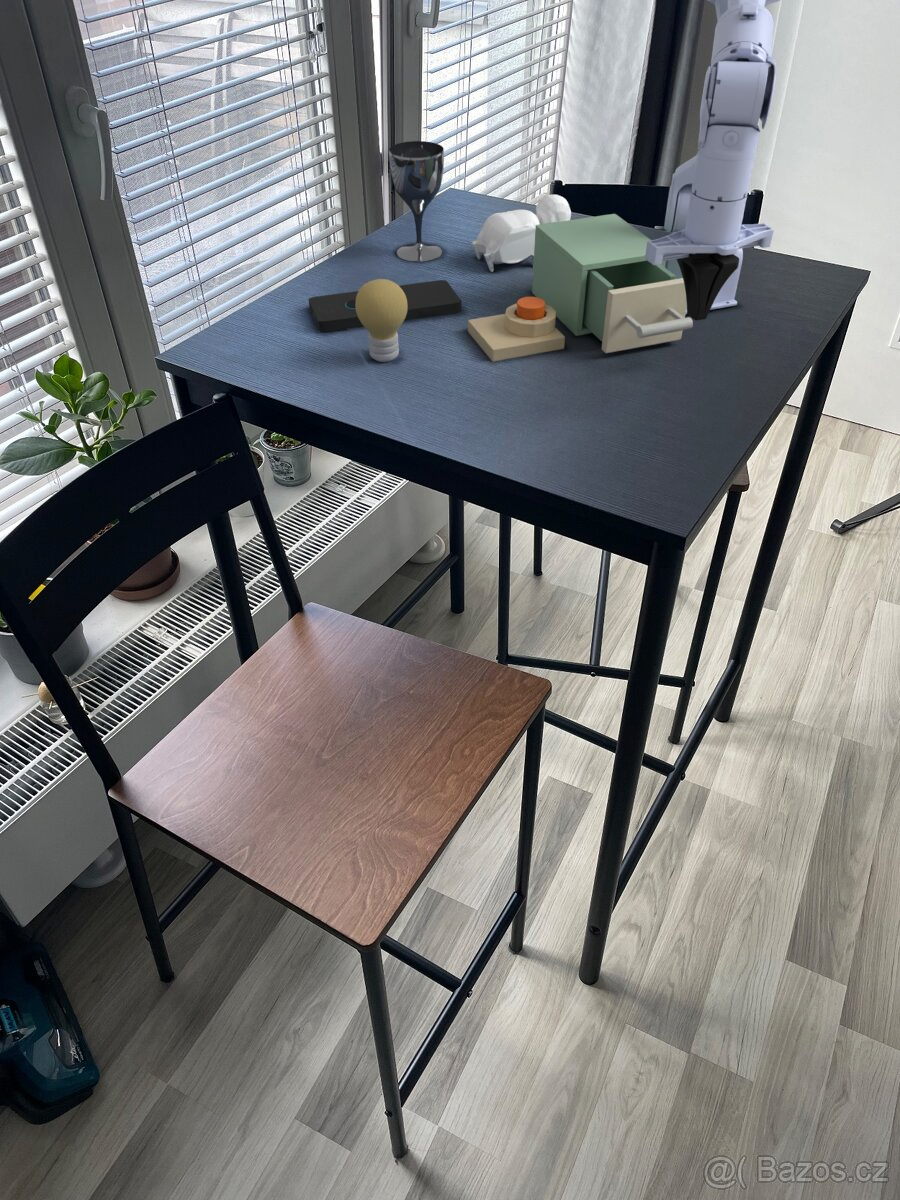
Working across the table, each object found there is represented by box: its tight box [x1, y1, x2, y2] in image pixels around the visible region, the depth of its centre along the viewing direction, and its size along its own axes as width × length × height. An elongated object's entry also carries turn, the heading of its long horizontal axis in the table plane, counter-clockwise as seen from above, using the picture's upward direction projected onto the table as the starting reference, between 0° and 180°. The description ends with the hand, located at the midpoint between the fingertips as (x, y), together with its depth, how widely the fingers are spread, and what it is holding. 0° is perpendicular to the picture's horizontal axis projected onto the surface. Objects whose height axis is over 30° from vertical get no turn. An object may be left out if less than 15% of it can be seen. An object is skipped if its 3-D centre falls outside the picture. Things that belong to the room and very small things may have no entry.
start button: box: [516, 296, 545, 320], centre depth 118 cm, size 4×4×2 cm
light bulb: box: [355, 278, 408, 363], centre depth 114 cm, size 6×6×10 cm
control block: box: [467, 303, 566, 362], centre depth 120 cm, size 10×9×4 cm
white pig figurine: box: [471, 194, 572, 273], centre depth 138 cm, size 9×8×15 cm
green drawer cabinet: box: [531, 213, 667, 337], centre depth 125 cm, size 15×12×10 cm
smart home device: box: [308, 279, 462, 333], centre depth 127 cm, size 8×2×20 cm
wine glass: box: [388, 140, 445, 263], centre depth 138 cm, size 8×8×15 cm
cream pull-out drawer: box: [582, 261, 694, 354], centre depth 118 cm, size 18×11×8 cm, turn 20°
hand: (696, 316), depth 105 cm, fingers closed
